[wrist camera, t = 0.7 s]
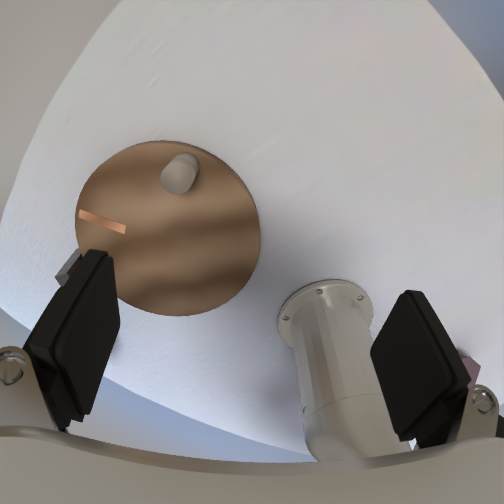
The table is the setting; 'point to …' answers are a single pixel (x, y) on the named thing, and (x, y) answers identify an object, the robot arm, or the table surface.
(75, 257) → the index pointer
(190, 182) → the disc
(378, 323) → the table surface
